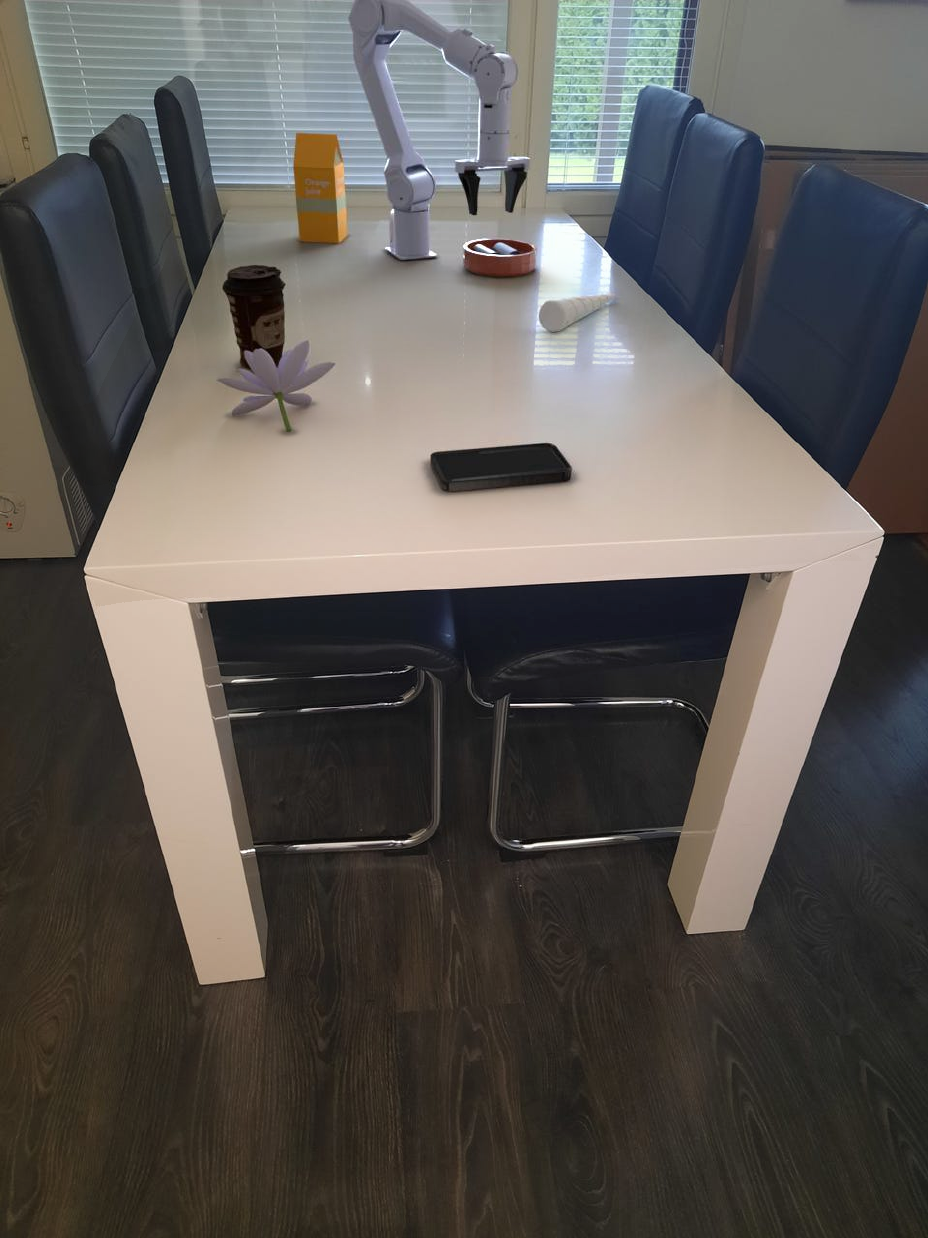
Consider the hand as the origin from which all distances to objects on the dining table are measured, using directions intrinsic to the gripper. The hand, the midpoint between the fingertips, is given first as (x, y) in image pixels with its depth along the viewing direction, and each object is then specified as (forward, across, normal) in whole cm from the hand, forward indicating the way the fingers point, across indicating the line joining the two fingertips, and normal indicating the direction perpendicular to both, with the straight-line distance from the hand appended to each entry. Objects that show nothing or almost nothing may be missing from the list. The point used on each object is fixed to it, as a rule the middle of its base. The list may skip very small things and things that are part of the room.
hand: (491, 212), depth 164 cm
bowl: (+10, +2, -2) cm, 10 cm away
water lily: (+10, -56, -58) cm, 81 cm away
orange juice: (+10, -24, +34) cm, 43 cm away
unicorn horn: (+10, +1, -34) cm, 35 cm away
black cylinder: (+9, -1, -2) cm, 9 cm away
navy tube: (+9, +2, -2) cm, 9 cm away
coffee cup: (+10, -54, -39) cm, 67 cm away
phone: (+10, -37, -82) cm, 91 cm away
